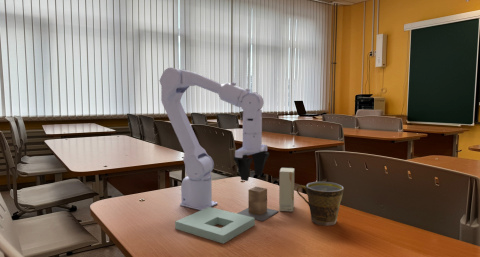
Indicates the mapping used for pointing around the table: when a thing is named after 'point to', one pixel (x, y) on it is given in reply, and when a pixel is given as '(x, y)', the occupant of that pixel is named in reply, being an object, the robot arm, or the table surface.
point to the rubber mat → (259, 217)
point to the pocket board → (209, 217)
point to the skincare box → (286, 189)
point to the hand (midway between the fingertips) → (251, 177)
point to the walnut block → (257, 200)
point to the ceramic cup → (323, 201)
